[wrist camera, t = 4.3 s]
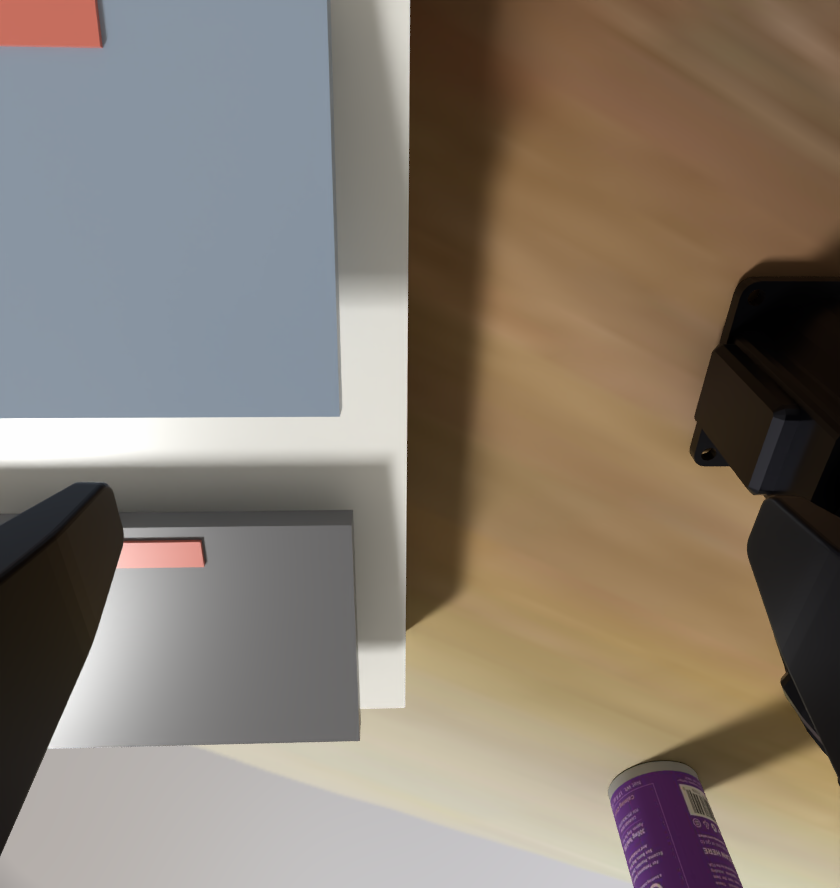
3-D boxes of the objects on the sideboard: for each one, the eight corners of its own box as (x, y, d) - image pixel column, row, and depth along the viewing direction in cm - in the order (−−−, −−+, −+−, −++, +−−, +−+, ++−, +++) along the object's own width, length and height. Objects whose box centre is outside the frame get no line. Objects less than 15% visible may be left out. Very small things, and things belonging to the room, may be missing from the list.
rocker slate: (334, 10, 13) (325, -28, 12) (345, 396, 16) (339, 418, 14) (-232, -2, 13) (-337, -43, 11) (-135, 399, 15) (-209, 420, 13)
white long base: (407, -184, 14) (412, -239, 11) (403, 633, 28) (405, 712, 24) (-292, -206, 13) (-496, -270, 10) (57, 640, 27) (14, 721, 24)
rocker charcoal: (354, 491, 19) (351, 527, 18) (361, 696, 23) (359, 743, 21) (-33, 495, 19) (-77, 532, 17) (33, 703, 22) (2, 752, 21)
